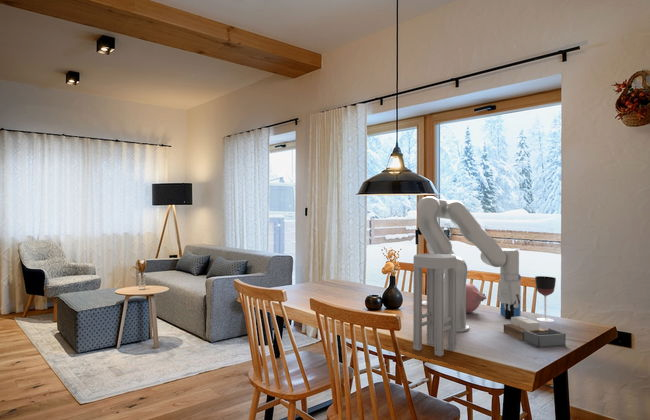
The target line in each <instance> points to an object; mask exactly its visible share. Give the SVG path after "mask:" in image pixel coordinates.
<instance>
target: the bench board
mask: <svg viewBox="0 0 650 420" xmlns="http://www.w3.org/2000/svg"><path fill="white" fill-rule="evenodd" d="M524 330H525V329H523V328H520V327H518V326H515V325H513V324H511V323H504V324H503V333H504V334H506V335H509V336H511V337H513V338H515V339H518V340H520V341H522V342H524V341H523V334H524ZM526 331H528V330H526ZM529 332H531V333H546V332H548V329H547V328H544V327H541V326H539V330H533V331H529Z"/></svg>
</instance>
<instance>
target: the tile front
mask: <svg viewBox="0 0 650 420" xmlns="http://www.w3.org/2000/svg"><path fill="white" fill-rule="evenodd" d="M539 327H540V321H539V322H538V321H535V320H533V319H529V320H520V328H523V329H525V330H528V331H533V330H539Z"/></svg>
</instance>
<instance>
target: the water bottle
mask: <svg viewBox="0 0 650 420" xmlns="http://www.w3.org/2000/svg"><path fill="white" fill-rule="evenodd" d="M521 279H522V276H521V274H520V273H519V284H520V293H522V291H521V289H522V288H521V286H522V285H521V284H522V283H521ZM521 301H522V300H521ZM521 301H520V304H519V308H515V310H514V317H517V316H522V315H521V314H522V313H521V312H522V311H521V303H522V302H521ZM500 315H502V316H503V317H505V309H504V305H503V304H502V303H501V302H500Z"/></svg>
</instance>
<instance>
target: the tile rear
mask: <svg viewBox="0 0 650 420" xmlns="http://www.w3.org/2000/svg"><path fill="white" fill-rule="evenodd" d="M520 320H530V319H529V318H528V317H524V316H523V315H520V316H517V317H511V320H510V324H513V325H515V326H518V327H520Z"/></svg>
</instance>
